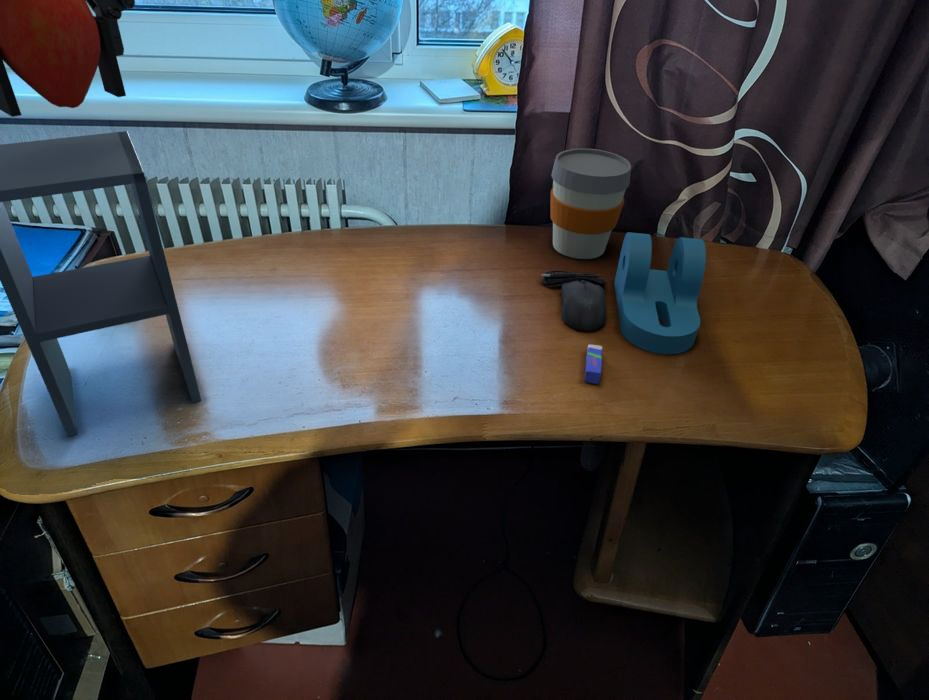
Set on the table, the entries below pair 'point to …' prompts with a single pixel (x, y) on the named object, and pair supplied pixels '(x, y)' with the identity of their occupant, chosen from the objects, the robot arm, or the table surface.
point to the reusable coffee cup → (586, 200)
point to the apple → (51, 47)
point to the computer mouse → (580, 298)
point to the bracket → (659, 294)
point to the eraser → (593, 364)
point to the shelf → (90, 288)
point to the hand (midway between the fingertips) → (65, 102)
